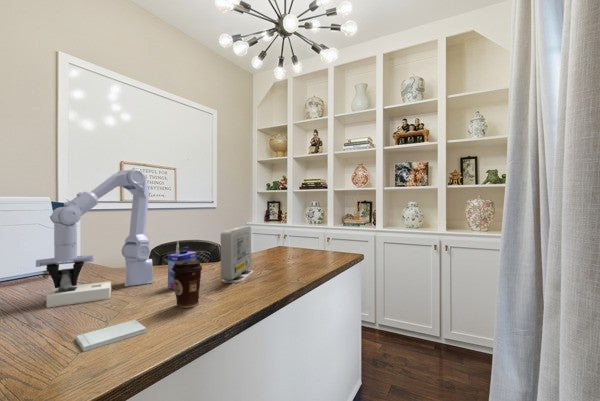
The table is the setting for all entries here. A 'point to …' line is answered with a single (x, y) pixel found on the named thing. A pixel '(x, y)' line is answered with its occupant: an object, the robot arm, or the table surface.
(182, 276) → the coffee cup
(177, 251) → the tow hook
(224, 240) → the network device
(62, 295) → the block
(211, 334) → the table surface
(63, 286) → the pipe stub
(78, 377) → the table surface
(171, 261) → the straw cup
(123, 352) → the table surface
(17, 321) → the table surface
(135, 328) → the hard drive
